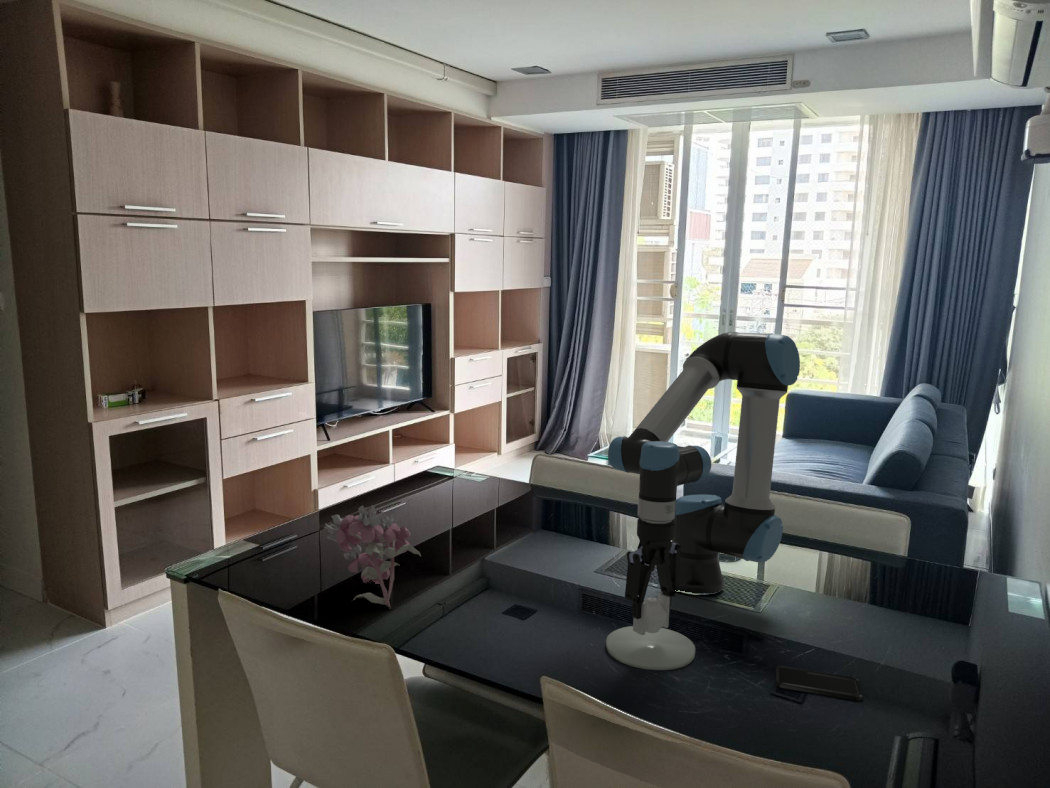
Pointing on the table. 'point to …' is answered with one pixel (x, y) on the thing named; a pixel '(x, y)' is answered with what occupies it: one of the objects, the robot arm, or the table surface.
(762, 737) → the table surface
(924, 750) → the table surface
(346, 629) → the table surface
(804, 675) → the phone
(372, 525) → the flower
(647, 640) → the ceramic plate
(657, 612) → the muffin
